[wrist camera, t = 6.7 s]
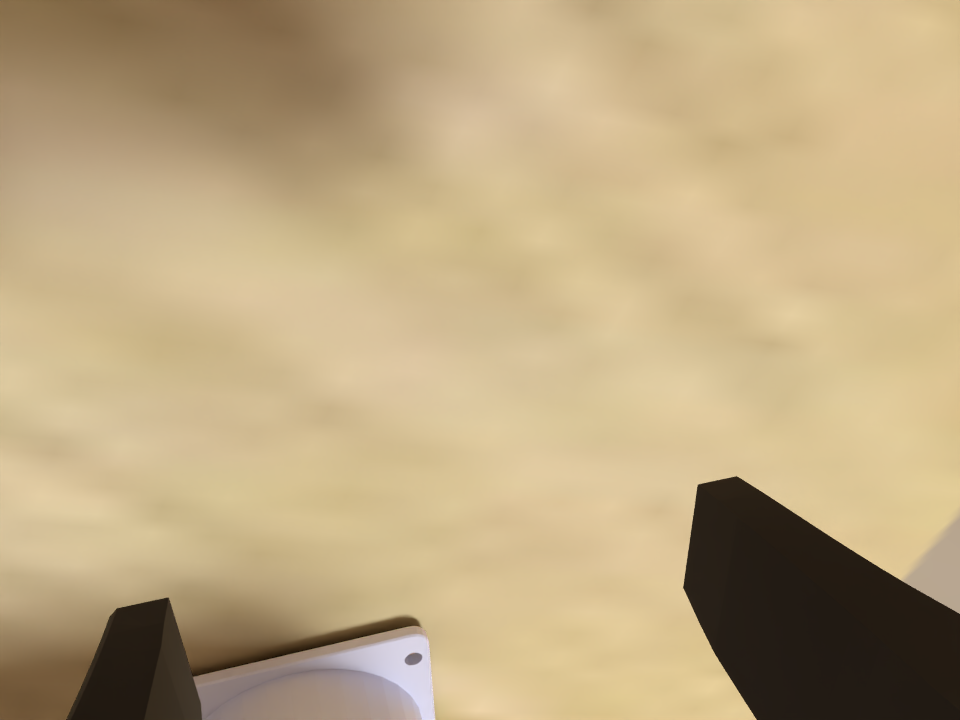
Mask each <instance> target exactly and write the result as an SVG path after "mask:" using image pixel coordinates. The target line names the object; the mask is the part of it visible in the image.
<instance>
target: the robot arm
mask: <svg viewBox="0 0 960 720" xmlns="http://www.w3.org/2000/svg"><path fill="white" fill-rule="evenodd" d="M683 588H684V590H685V592H686V595H687V597H688V599H689V601H690V603H691V605H692V608H693V610H694V612H695V614H696V616H697V618H698V621H699V623H700V625H701V627H702V629H703V631H704V633H705V635H706V637H707V639H708V641H709V643H710V645H711V647H712V649H713V651H714V653H715V655H716V656H717V658H718V659H719V661H720V663H721V664H722V666H723V667H724V669H725V671H726V672H727V674H728V675H729V677H730V679H731V680H732V682H733V683H734V685H735V686H736V688H737V690H738V691H739V693H740V694H741V696H742V697H743V699H744V701H745V702H746V704H747V705H748V707H749V708H750V710H751V711H752V713H753V715H754V716H755V718H756V719H757V720H960V614H959V613H957V612H955V611H954V610H952V609H950V608H948V607H947V606H945V605H943V604H941V603H939V602H938V601H936V600H934V599H932V598H931V597H929V596H927V595H925V594H923V593H921V592H920V591H918V590H916V589H915V588H913V587H911V586H909V585H908V584H906V583H904V582H903V581H901V580H899V579H898V578H896V577H894V576H893V575H891V574H889V573H888V572H886V571H884V570H883V569H881V568H879V567H878V566H876V565H874V564H873V563H871V562H870V561H868V560H866V559H865V558H863V557H862V556H860V555H858V554H857V553H855V552H854V551H852V550H850V549H849V548H847V547H846V546H844V545H843V544H841V543H839V542H838V541H836V540H835V539H833V538H832V537H830V536H828V535H827V534H825V533H824V532H822V531H821V530H819V529H818V528H816V527H815V526H813V525H812V524H810V523H809V522H807V521H805V520H804V519H802V518H801V517H799V516H798V515H796V514H795V513H793V512H792V511H790V510H789V509H787V508H786V507H784V506H783V505H781V504H779V503H778V502H776V501H775V500H773V499H772V498H770V497H769V496H767V495H766V494H764V493H763V492H761V491H759V490H758V489H756V488H755V487H753V486H752V485H750V484H748V483H747V482H745V481H743V480H742V479H740V478H739V477H737V476H736V477H731V478H727V479H722V480H717V481H713V482H708V483H703V484H699V485H698V487H697V494H696V501H695V508H694V516H693V523H692V530H691V537H690V544H689V551H688V558H687V565H686V572H685V579H684V586H683ZM411 653H414V654H411ZM409 654H411V655H409ZM66 720H435V711H434V699H433V687H432V675H431V663H430V650H429V641H428V638H427V634H426V632H425V630H424V629H423V628H421V627H418V626H408V627H404V628H400V629H396V630H391V631H387V632H383V633H378V634H374V635H370V636H366V637H361V638H357V639H353V640H348V641H344V642H340V643H336V644H331V645H327V646H323V647H318V648H314V649H310V650H306V651H301V652H297V653H293V654H289V655H284V656H280V657H276V658H271V659H267V660H263V661H259V662H254V663H250V664H246V665H241V666H237V667H233V668H229V669H224V670H220V671H216V672H211V673H207V674H203V675H199V676H194V677H193V676H192V672H191V669H190V666H189V662H188V659H187V656H186V653H185V649H184V646H183V643H182V640H181V636H180V633H179V630H178V626H177V623H176V620H175V617H174V613H173V610H172V607H171V604H170V600H169V598H164V599H159V600H154V601H150V602H145V603H140V604H136V605H131V606H126V607H122V608H117V609H116V610H115V611H114V613H113V614H112V615H111V616H110V617H109V620H108V623H107V625H106V628H105V631H104V633H103V636H102V639H101V641H100V644H99V646H98V649H97V651H96V654H95V656H94V658H93V661H92V663H91V666H90V668H89V670H88V673H87V675H86V677H85V680H84V682H83V684H82V686H81V689H80V691H79V693H78V695H77V697H76V700H75V702H74V704H73V706H72V709H71V711H70V713H69V715H68V717H67V719H66Z"/></svg>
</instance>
